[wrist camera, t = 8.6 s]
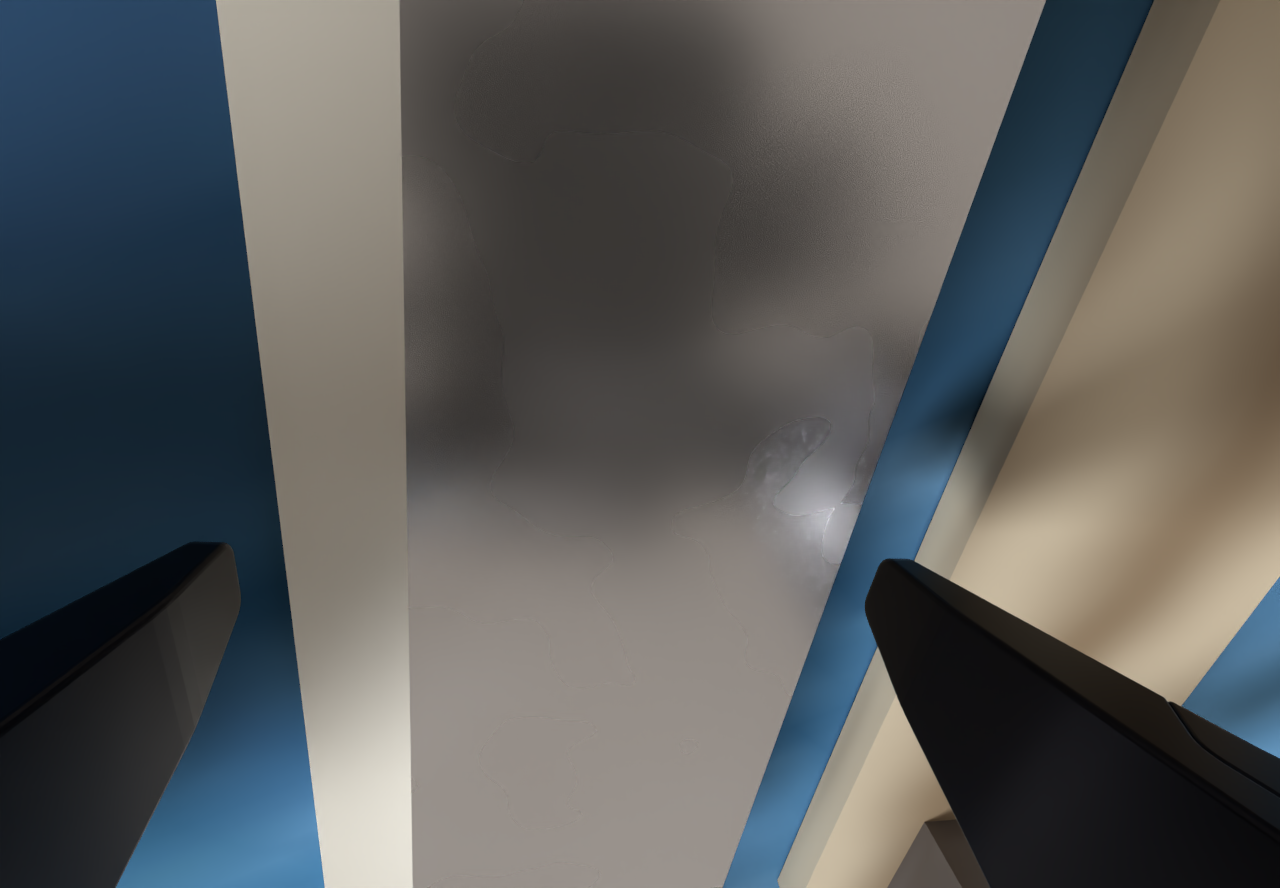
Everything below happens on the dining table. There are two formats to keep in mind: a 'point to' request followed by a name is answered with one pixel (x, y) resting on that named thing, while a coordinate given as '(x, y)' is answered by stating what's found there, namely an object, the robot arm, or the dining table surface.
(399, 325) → the board
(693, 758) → the rail
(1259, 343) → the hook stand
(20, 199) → the dining table surface
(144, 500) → the dining table surface
